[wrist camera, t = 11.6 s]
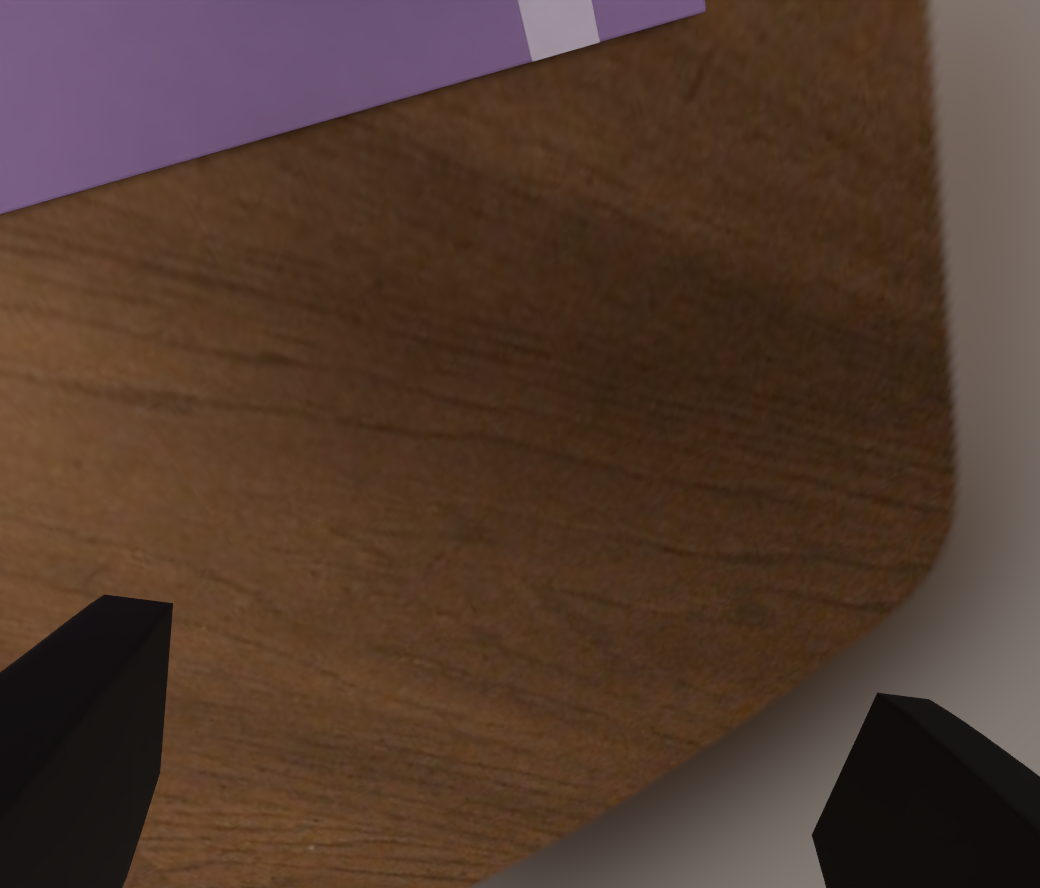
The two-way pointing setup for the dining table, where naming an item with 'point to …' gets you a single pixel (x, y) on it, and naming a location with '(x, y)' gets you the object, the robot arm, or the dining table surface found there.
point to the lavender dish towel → (247, 71)
